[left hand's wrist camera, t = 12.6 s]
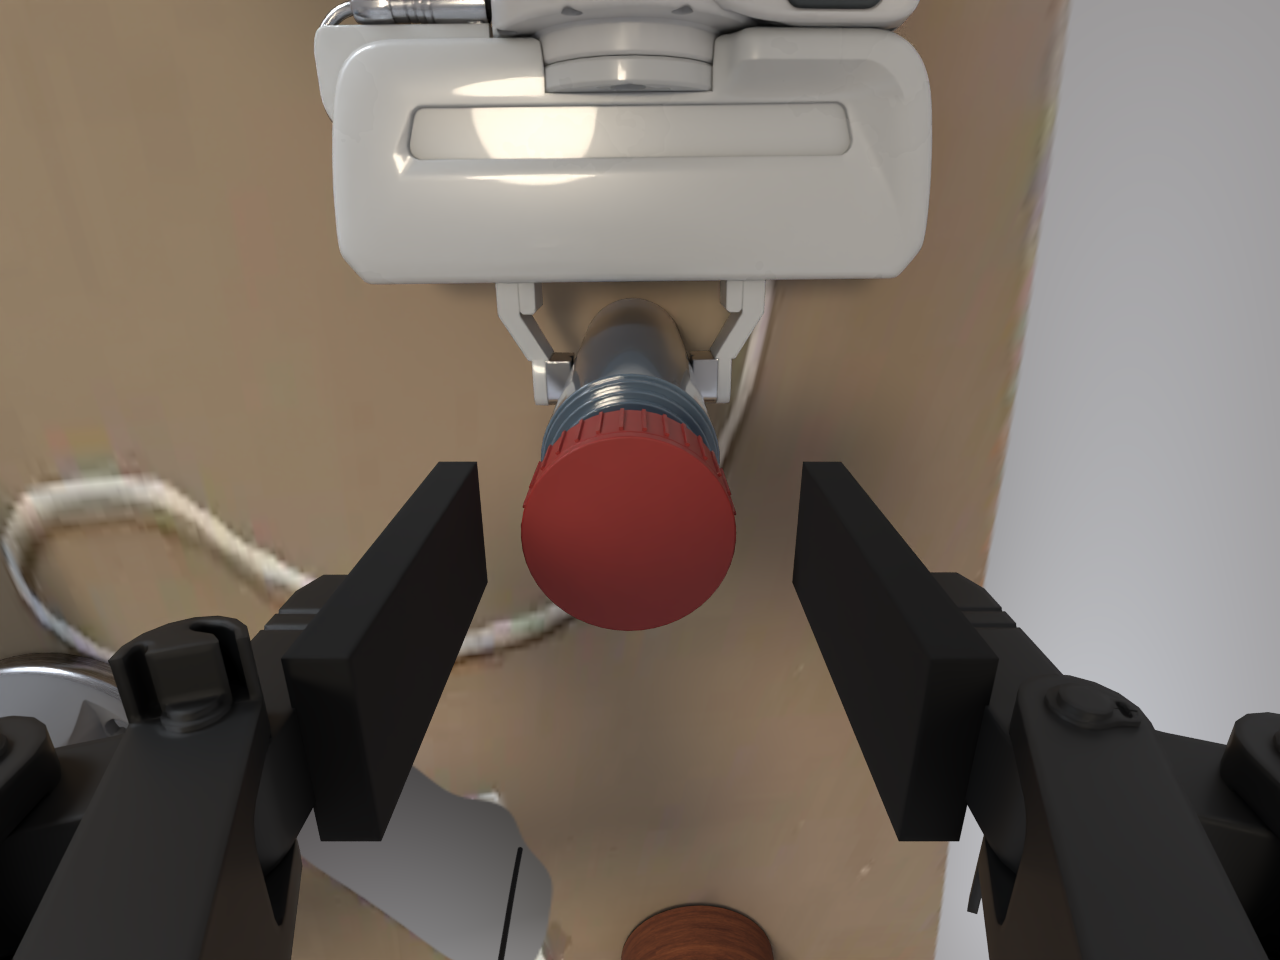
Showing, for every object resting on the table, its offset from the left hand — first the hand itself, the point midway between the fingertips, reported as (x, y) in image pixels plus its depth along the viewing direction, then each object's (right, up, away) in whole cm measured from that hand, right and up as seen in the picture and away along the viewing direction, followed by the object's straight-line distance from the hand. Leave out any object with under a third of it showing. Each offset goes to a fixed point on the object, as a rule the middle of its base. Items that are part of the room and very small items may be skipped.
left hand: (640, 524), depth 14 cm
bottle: (0, +7, +19) cm, 20 cm away
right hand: (0, +4, +13) cm, 14 cm away
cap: (0, 0, 0) cm, 0 cm away
